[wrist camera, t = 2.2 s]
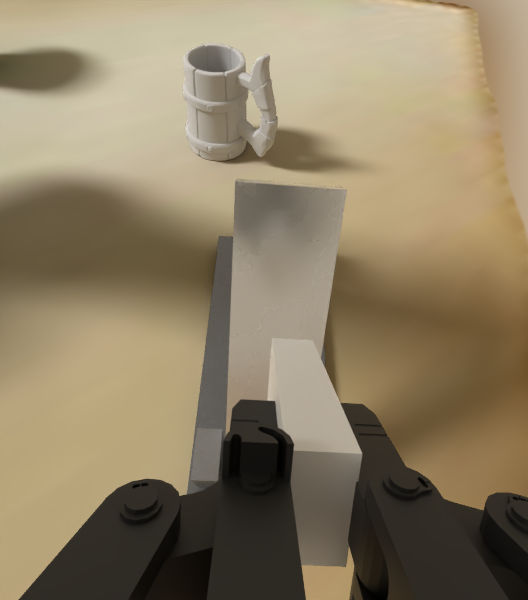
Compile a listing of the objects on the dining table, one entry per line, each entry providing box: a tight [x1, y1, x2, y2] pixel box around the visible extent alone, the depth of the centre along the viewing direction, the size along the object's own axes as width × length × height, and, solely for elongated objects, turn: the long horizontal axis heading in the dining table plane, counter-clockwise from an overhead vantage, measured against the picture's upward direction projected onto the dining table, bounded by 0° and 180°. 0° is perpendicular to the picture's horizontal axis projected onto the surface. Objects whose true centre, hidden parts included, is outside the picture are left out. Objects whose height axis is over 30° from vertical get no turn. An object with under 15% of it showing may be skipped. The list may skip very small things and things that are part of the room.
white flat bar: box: [226, 179, 347, 435], centre depth 21 cm, size 18×5×2 cm
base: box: [187, 236, 326, 494], centre depth 29 cm, size 24×10×7 cm, turn 178°
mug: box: [183, 43, 278, 161], centre depth 41 cm, size 8×12×12 cm, turn 57°
